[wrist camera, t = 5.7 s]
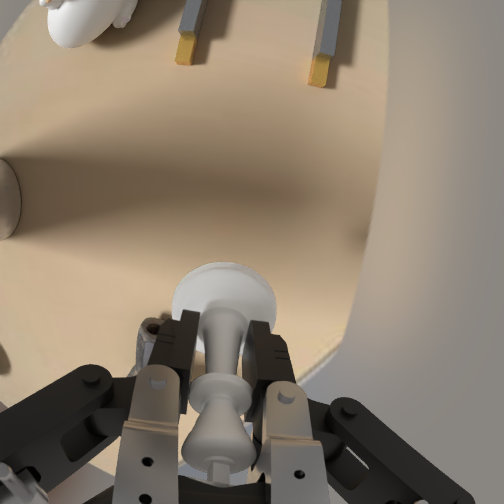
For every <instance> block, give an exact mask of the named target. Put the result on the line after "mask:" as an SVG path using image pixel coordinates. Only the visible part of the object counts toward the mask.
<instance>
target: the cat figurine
mask: <svg viewBox="0 0 504 504" xmlns="http://www.w3.org/2000/svg"><path fill="white" fill-rule="evenodd" d="M137 2H138V0H40V5H41V6H45V7H46V8H48V9H49V11H48V29H49V33H50V35H51V37H52V39H53V40H54V41H55V42H56V43H57V44H58V45H60V46H61V47H64V48H76V47H80V46H83V45H85V44H87V43H89V42H91V41H92V40H94V39H95V38H97V37H98V36H99V35H100V34H101V33H103V32H104V31H105V30H106V29H107V28H108V27H109V26H110V25H111V23H112V24H113V26H114V27H115V28H120V27H121V28H123V27H125V25H126V24H127V22H128V21H130V20H131V15H132V13H133V11H134V10H135V8H136V5H137Z"/></svg>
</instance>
